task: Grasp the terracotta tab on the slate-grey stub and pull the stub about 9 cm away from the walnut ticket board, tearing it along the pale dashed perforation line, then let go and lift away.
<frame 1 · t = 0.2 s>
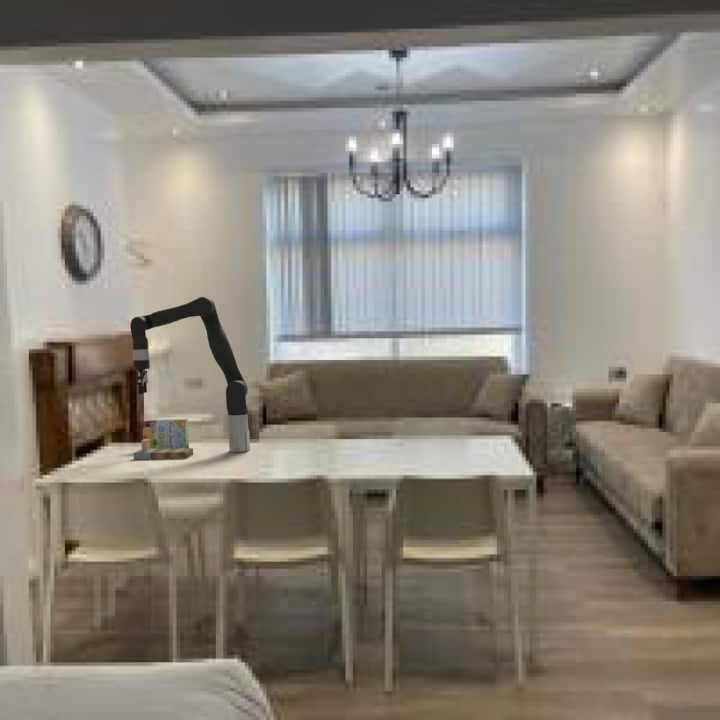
hand: (142, 393, 433), 29 cm above the table, fingers open, 8 cm apart
snack box: (166, 450, 443), on the table
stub: (145, 448, 421), point 4 cm above the table, slide at 0.0 cm
ticket board: (172, 456, 420), on the table
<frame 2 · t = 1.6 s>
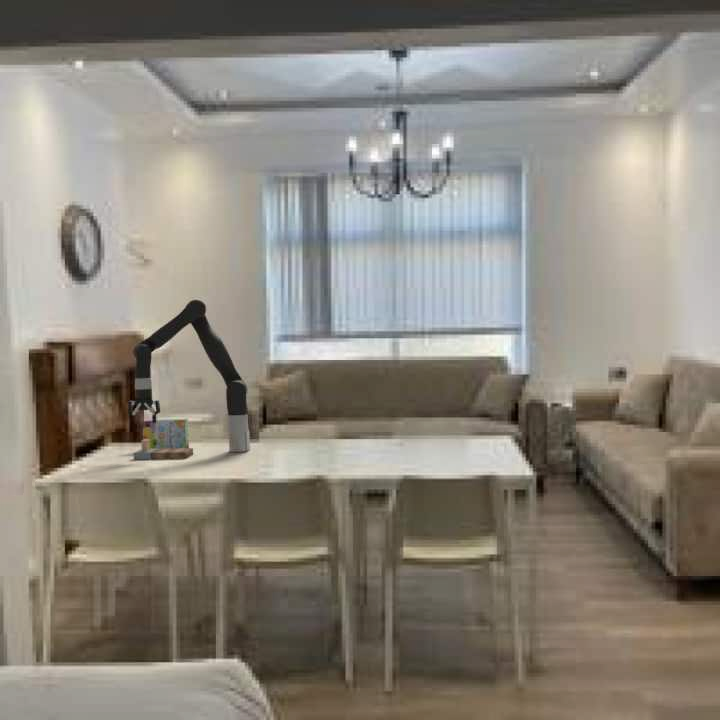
hand: (144, 423, 421), 16 cm above the table, fingers open, 8 cm apart
nothing on the table moved.
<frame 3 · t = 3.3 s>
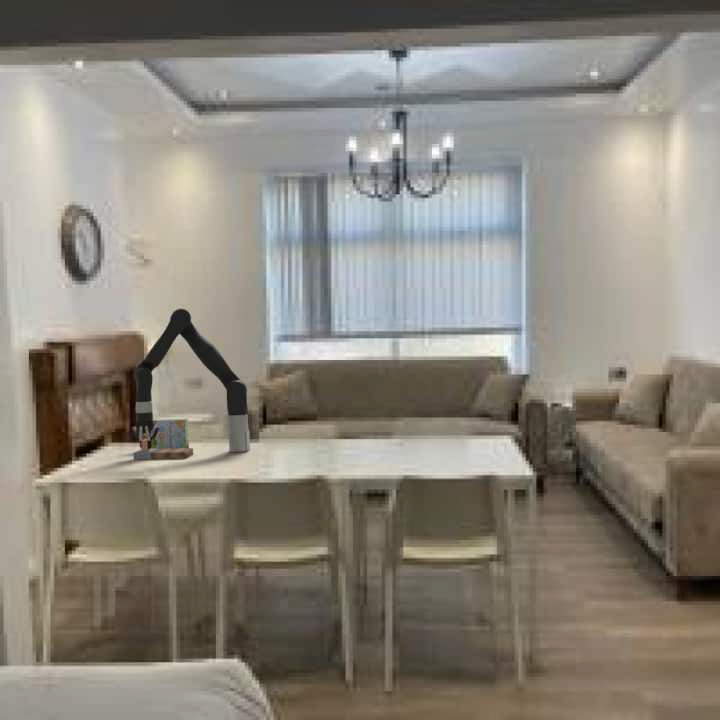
hand: (145, 448, 421), 4 cm above the table, fingers closed on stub, 2 cm apart
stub: (145, 448, 421), point 4 cm above the table, slide at 0.0 cm, touching gripper
everything else where it was.
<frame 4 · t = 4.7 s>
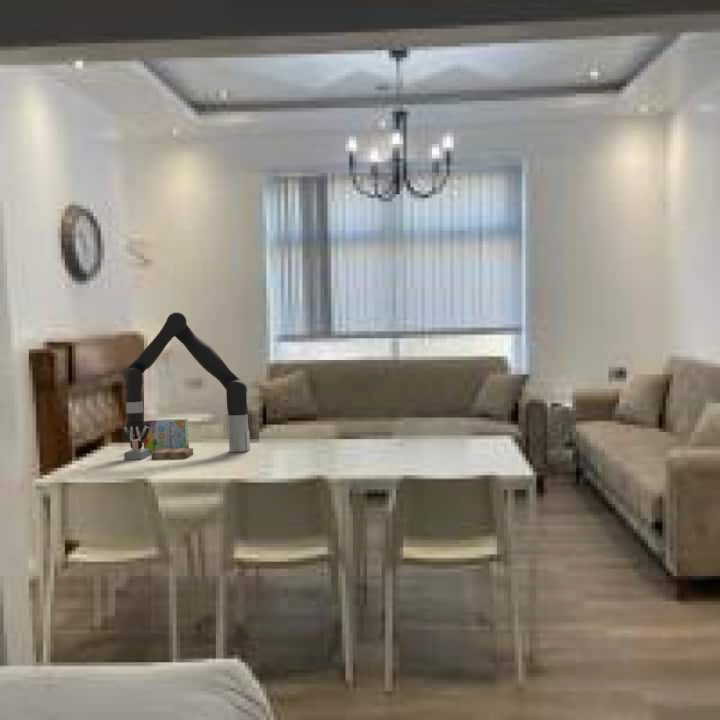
hand: (136, 448, 421), 4 cm above the table, fingers closed on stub, 2 cm apart
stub: (136, 448, 421), point 4 cm above the table, slide at 4.3 cm, touching gripper
everything else where it was.
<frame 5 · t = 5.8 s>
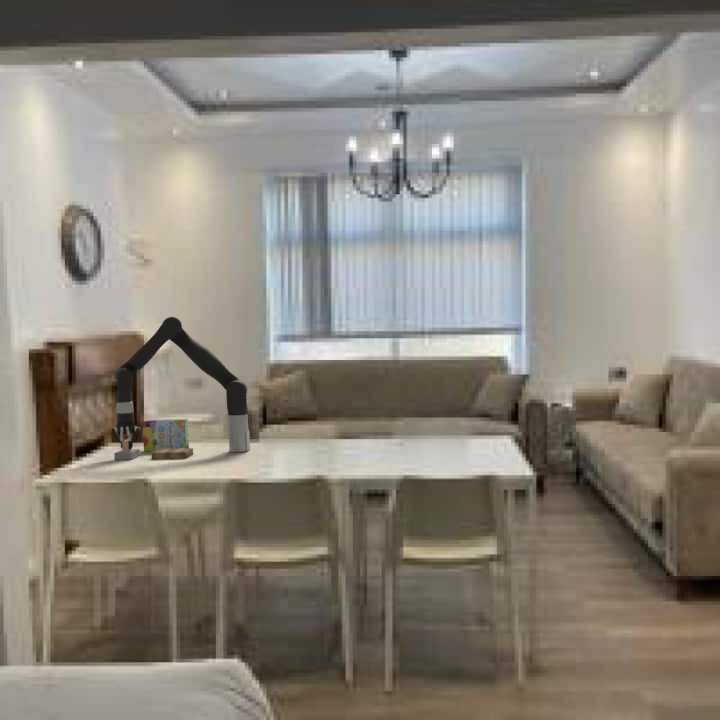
hand: (126, 449, 422), 4 cm above the table, fingers closed on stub, 2 cm apart
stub: (127, 448, 422), point 4 cm above the table, slide at 8.8 cm, touching gripper
everything else where it was.
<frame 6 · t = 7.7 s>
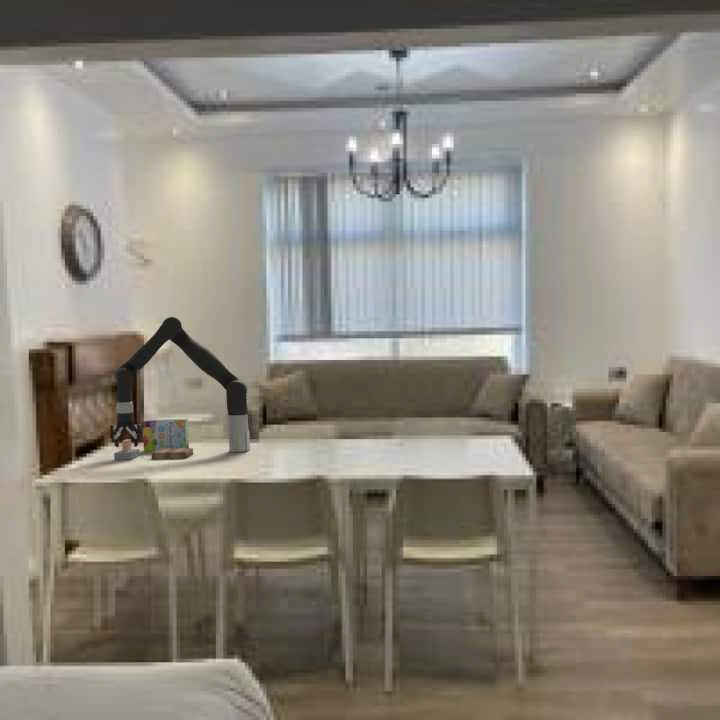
hand: (126, 446, 421), 5 cm above the table, fingers open, 8 cm apart
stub: (126, 448, 422), point 4 cm above the table, slide at 8.9 cm
everything else where it was.
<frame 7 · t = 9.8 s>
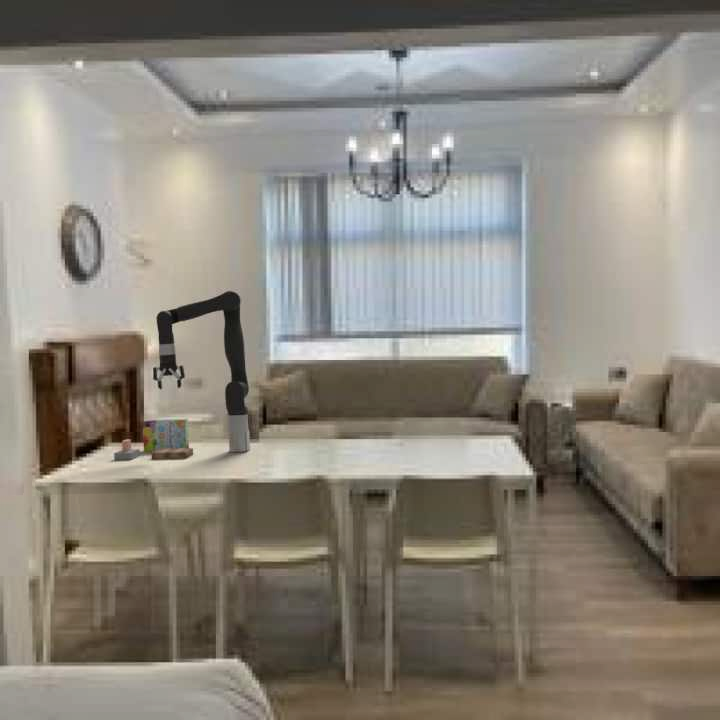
hand: (169, 388, 428), 31 cm above the table, fingers open, 8 cm apart
nothing on the table moved.
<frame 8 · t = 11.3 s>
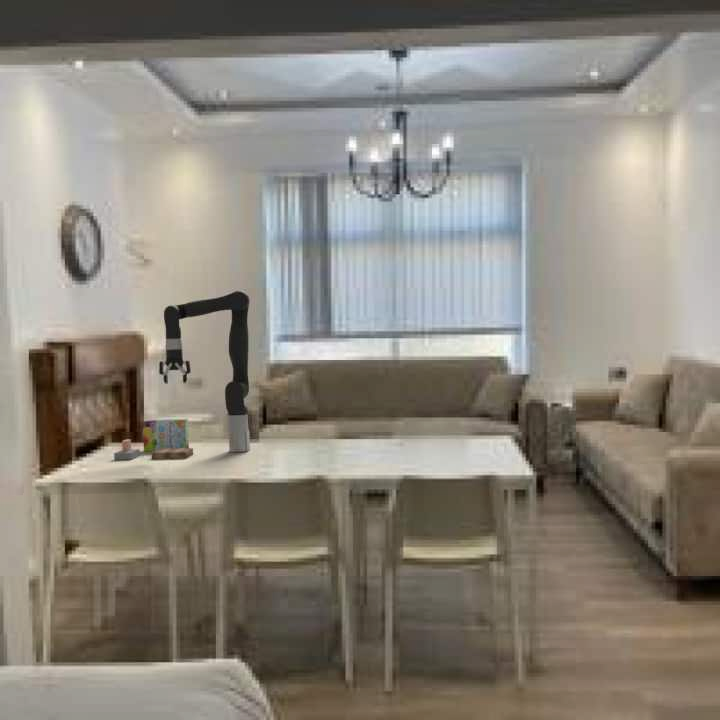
hand: (175, 383, 429), 33 cm above the table, fingers open, 8 cm apart
nothing on the table moved.
at the end: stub slide at 8.9 cm; the gripper is holding nothing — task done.
